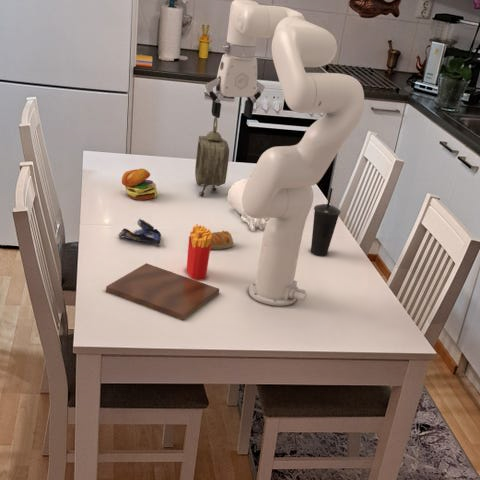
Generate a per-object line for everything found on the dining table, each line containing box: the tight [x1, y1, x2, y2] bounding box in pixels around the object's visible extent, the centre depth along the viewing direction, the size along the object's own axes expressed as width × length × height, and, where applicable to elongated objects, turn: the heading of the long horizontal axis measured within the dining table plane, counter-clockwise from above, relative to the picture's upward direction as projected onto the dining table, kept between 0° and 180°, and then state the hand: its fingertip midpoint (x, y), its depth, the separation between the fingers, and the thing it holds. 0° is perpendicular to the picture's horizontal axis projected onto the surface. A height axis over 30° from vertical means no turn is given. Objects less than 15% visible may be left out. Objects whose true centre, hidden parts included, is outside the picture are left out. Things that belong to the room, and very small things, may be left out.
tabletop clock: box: [194, 117, 230, 197], centre depth 265 cm, size 14×9×25 cm, turn 6°
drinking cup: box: [310, 187, 341, 257], centre depth 232 cm, size 8×8×20 cm
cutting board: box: [105, 263, 220, 321], centre depth 200 cm, size 22×18×2 cm
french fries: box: [185, 223, 212, 281], centre depth 210 cm, size 9×4×13 cm, turn 22°
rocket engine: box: [227, 178, 268, 232], centre depth 250 cm, size 12×12×18 cm
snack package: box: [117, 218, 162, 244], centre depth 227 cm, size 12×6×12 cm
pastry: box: [210, 230, 234, 250], centre depth 230 cm, size 9×7×4 cm
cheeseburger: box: [121, 167, 158, 201], centre depth 257 cm, size 10×11×10 cm
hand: (231, 116), depth 215 cm, fingers open, 9 cm apart
